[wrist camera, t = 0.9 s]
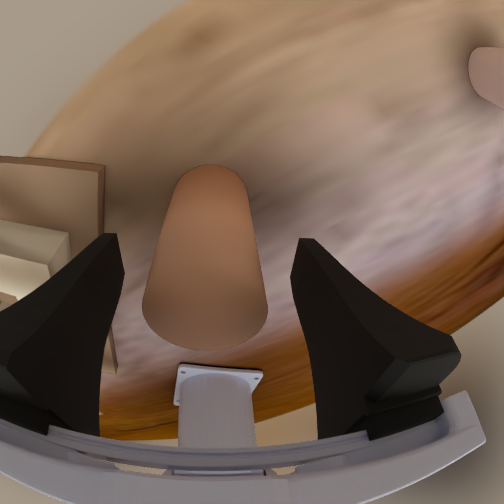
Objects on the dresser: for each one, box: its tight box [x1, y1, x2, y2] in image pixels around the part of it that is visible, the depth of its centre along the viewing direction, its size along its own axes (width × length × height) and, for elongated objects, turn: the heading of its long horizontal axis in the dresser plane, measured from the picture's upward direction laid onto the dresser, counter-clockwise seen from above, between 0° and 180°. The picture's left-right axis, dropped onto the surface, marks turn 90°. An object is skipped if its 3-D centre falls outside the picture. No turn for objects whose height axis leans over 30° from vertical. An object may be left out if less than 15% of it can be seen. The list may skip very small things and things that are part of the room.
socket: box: [0, 156, 118, 375], centre depth 15 cm, size 20×16×4 cm
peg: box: [142, 165, 268, 351], centre depth 12 cm, size 4×4×8 cm
